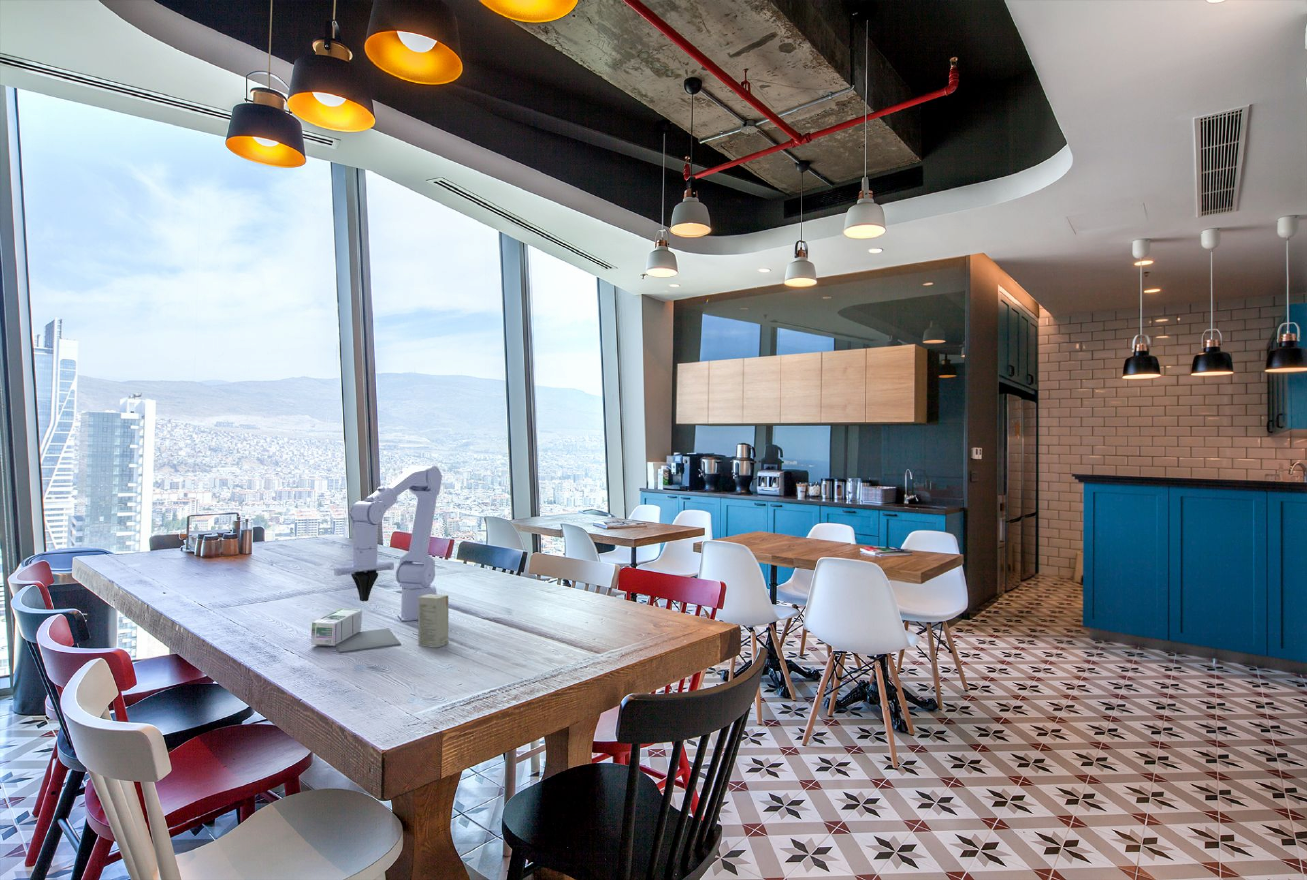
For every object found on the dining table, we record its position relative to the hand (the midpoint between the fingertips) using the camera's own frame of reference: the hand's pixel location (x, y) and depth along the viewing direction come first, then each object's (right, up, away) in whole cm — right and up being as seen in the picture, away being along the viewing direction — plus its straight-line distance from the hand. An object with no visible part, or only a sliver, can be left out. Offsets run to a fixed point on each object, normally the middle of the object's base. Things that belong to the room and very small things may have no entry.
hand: (364, 600), depth 171 cm
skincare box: (+20, -10, -5) cm, 23 cm away
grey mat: (+2, -9, -3) cm, 10 cm away
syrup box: (-5, -6, +5) cm, 9 cm away
